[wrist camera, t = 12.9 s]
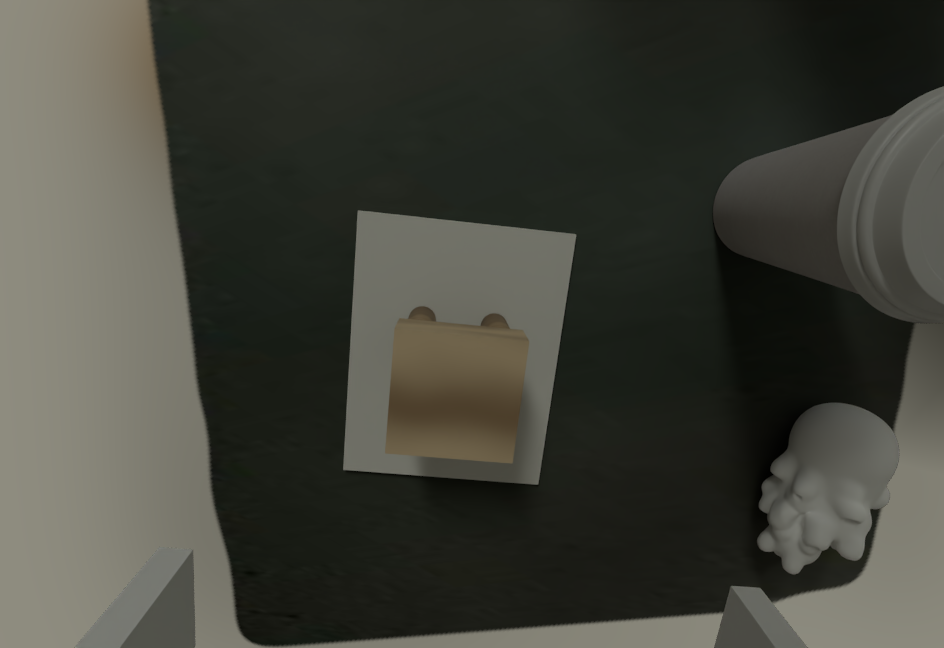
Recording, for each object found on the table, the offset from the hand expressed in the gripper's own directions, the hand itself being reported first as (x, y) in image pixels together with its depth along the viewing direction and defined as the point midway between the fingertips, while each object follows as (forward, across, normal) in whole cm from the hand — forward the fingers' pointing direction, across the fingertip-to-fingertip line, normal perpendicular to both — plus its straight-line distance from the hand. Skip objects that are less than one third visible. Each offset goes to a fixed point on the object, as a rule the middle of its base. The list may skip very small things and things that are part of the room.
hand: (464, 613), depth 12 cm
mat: (+23, 0, 0) cm, 23 cm away
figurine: (+23, +26, -6) cm, 35 cm away
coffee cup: (+23, +19, +12) cm, 32 cm away
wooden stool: (+22, 0, 0) cm, 22 cm away
